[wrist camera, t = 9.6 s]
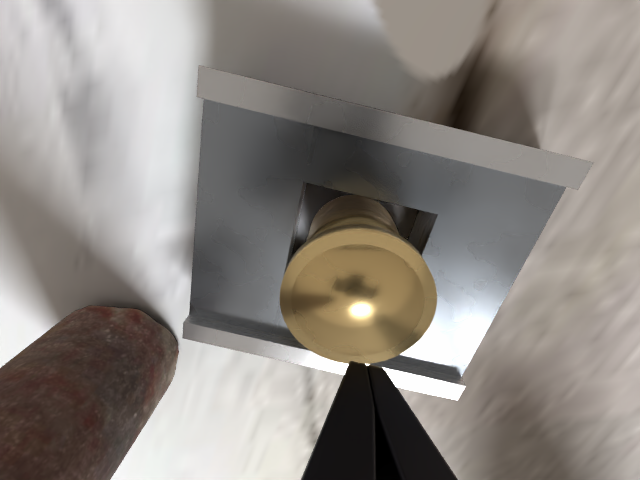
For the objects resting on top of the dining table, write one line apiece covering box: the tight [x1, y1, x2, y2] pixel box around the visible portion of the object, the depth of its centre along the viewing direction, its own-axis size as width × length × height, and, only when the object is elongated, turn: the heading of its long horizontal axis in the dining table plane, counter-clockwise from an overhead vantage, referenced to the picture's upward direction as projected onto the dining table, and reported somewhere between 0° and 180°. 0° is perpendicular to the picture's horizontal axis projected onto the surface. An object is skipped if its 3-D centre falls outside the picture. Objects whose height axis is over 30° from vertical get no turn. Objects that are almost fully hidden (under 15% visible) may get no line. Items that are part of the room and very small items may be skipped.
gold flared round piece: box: [280, 195, 437, 364], centre depth 13 cm, size 5×5×6 cm
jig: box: [183, 65, 594, 401], centre depth 14 cm, size 14×12×3 cm
